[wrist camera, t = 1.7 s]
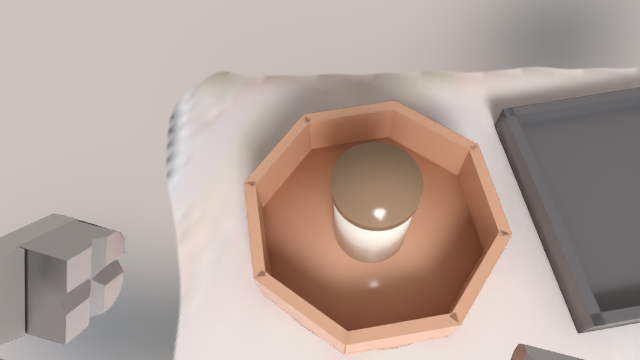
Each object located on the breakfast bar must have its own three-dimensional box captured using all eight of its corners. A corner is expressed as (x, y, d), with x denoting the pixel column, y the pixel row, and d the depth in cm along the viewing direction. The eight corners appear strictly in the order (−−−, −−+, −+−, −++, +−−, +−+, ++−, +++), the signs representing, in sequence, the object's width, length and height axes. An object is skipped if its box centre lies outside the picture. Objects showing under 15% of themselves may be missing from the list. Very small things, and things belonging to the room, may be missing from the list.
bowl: (445, 125, 43) (458, 90, 38) (515, 326, 35) (540, 310, 30) (248, 157, 42) (238, 124, 38) (272, 370, 34) (261, 360, 29)
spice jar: (397, 190, 39) (410, 135, 32) (415, 258, 36) (434, 215, 29) (326, 201, 39) (323, 149, 32) (339, 270, 36) (339, 230, 29)
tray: (667, 98, 43) (685, 80, 41) (790, 295, 35) (821, 285, 33) (494, 126, 43) (503, 109, 40) (578, 333, 34) (594, 326, 32)
